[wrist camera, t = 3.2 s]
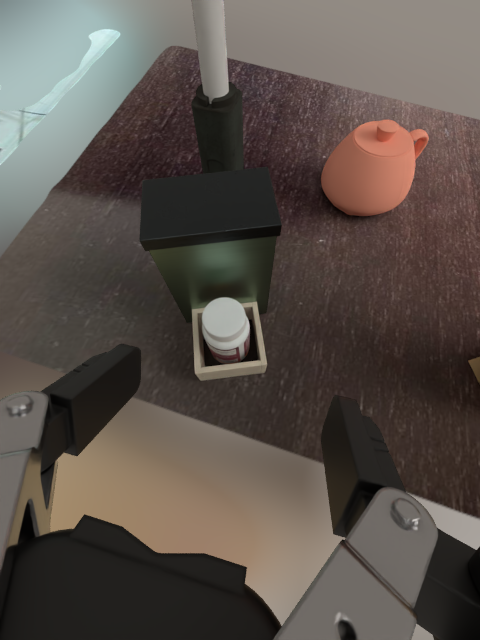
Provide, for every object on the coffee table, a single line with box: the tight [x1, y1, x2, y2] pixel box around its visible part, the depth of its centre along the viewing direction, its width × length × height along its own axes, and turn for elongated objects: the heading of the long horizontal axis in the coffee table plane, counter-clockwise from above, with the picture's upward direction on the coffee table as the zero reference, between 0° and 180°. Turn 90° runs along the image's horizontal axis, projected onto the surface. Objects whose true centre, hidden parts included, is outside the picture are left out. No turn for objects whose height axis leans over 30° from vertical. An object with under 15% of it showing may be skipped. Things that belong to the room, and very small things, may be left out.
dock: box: [192, 302, 267, 381], centre depth 30 cm, size 7×7×4 cm
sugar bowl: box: [321, 120, 429, 216], centre depth 36 cm, size 12×14×10 cm
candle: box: [191, 0, 244, 174], centre depth 31 cm, size 5×5×25 cm
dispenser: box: [140, 167, 282, 323], centre depth 27 cm, size 6×10×15 cm, turn 97°
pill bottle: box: [202, 297, 250, 364], centre depth 28 cm, size 5×5×8 cm
